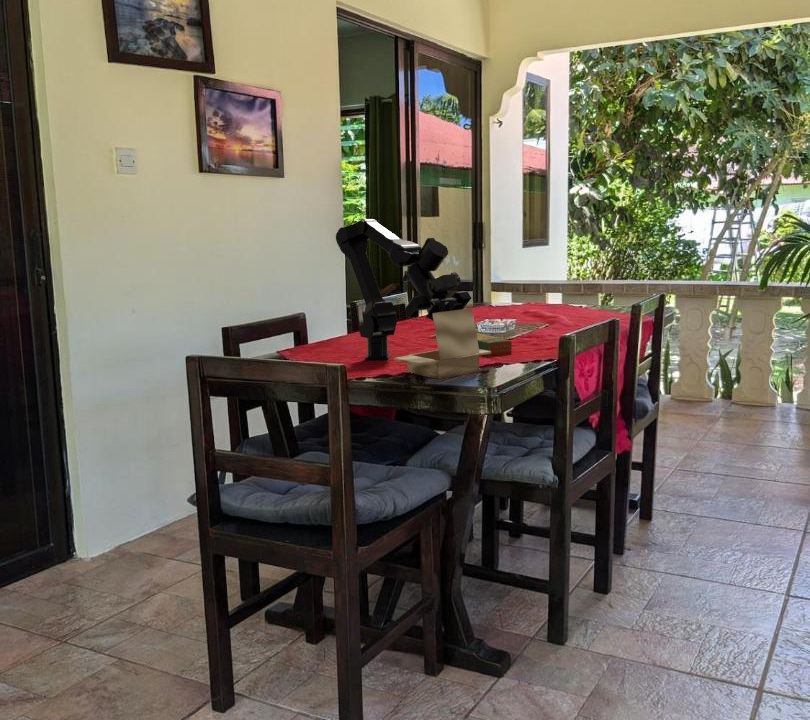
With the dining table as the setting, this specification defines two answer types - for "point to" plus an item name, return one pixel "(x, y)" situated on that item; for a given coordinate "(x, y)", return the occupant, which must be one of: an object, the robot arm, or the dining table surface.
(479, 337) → the carton
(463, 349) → the flap
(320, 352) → the dining table surface
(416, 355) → the open box
